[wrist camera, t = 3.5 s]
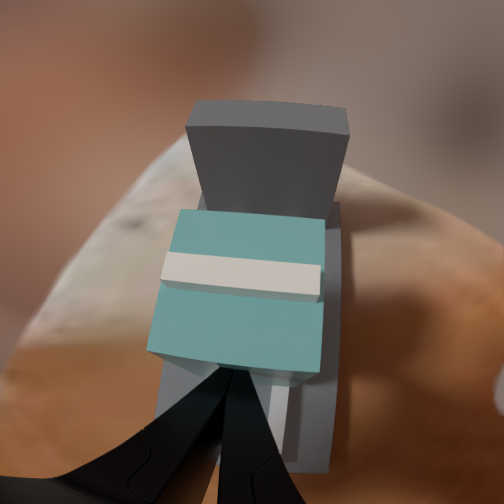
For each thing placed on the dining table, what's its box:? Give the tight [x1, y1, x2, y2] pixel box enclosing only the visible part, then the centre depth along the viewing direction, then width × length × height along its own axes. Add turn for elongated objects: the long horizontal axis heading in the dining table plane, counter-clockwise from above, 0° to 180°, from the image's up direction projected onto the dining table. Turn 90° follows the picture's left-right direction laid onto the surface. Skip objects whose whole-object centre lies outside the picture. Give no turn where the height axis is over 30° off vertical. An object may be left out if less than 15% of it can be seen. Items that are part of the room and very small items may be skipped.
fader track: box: [155, 100, 350, 473], centre depth 13 cm, size 16×9×8 cm, turn 173°
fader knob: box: [146, 209, 325, 387], centre depth 11 cm, size 4×4×8 cm
